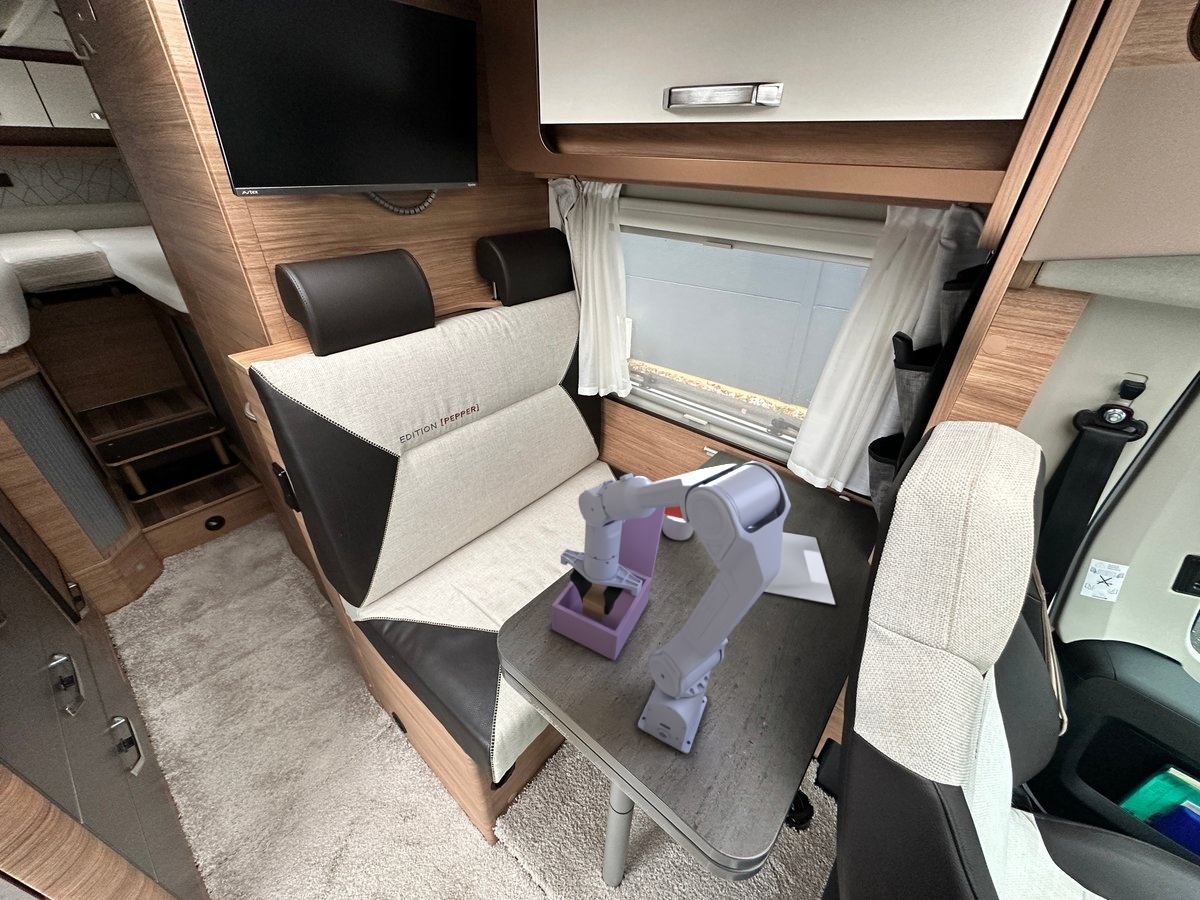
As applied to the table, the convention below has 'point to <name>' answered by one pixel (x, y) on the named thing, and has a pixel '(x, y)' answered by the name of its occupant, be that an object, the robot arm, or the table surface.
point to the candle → (676, 524)
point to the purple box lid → (641, 542)
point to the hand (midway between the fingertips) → (597, 605)
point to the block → (595, 603)
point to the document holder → (801, 571)
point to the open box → (592, 632)
